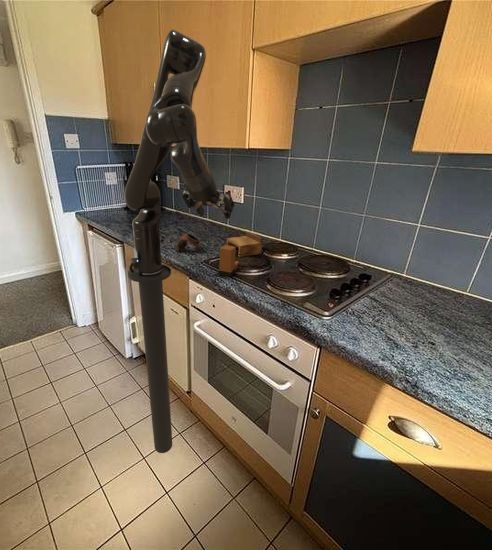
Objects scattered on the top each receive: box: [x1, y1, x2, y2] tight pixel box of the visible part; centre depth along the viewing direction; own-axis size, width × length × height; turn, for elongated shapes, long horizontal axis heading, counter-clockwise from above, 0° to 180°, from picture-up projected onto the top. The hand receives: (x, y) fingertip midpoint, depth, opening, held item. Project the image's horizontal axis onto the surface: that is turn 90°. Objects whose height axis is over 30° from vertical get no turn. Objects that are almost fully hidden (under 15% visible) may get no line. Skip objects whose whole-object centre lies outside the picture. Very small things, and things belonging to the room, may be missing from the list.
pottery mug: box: [175, 233, 201, 252], centre depth 132 cm, size 12×9×8 cm
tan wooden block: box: [226, 231, 263, 258], centre depth 133 cm, size 11×12×7 cm
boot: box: [218, 244, 240, 278], centre depth 111 cm, size 9×5×10 cm, turn 157°
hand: (215, 215), depth 91 cm, fingers open, 8 cm apart
